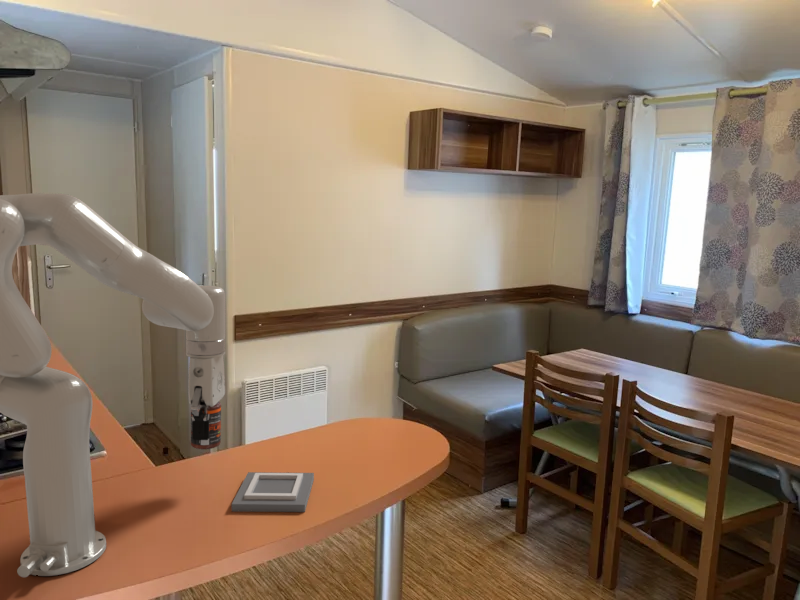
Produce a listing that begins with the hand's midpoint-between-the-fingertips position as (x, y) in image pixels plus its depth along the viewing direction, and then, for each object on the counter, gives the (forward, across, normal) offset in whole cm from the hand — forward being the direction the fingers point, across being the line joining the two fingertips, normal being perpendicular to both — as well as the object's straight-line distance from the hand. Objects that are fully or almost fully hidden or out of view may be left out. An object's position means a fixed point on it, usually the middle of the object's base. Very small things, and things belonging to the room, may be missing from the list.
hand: (205, 432), depth 127 cm
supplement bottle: (+3, 0, 0) cm, 3 cm away
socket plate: (+12, -3, -15) cm, 19 cm away
